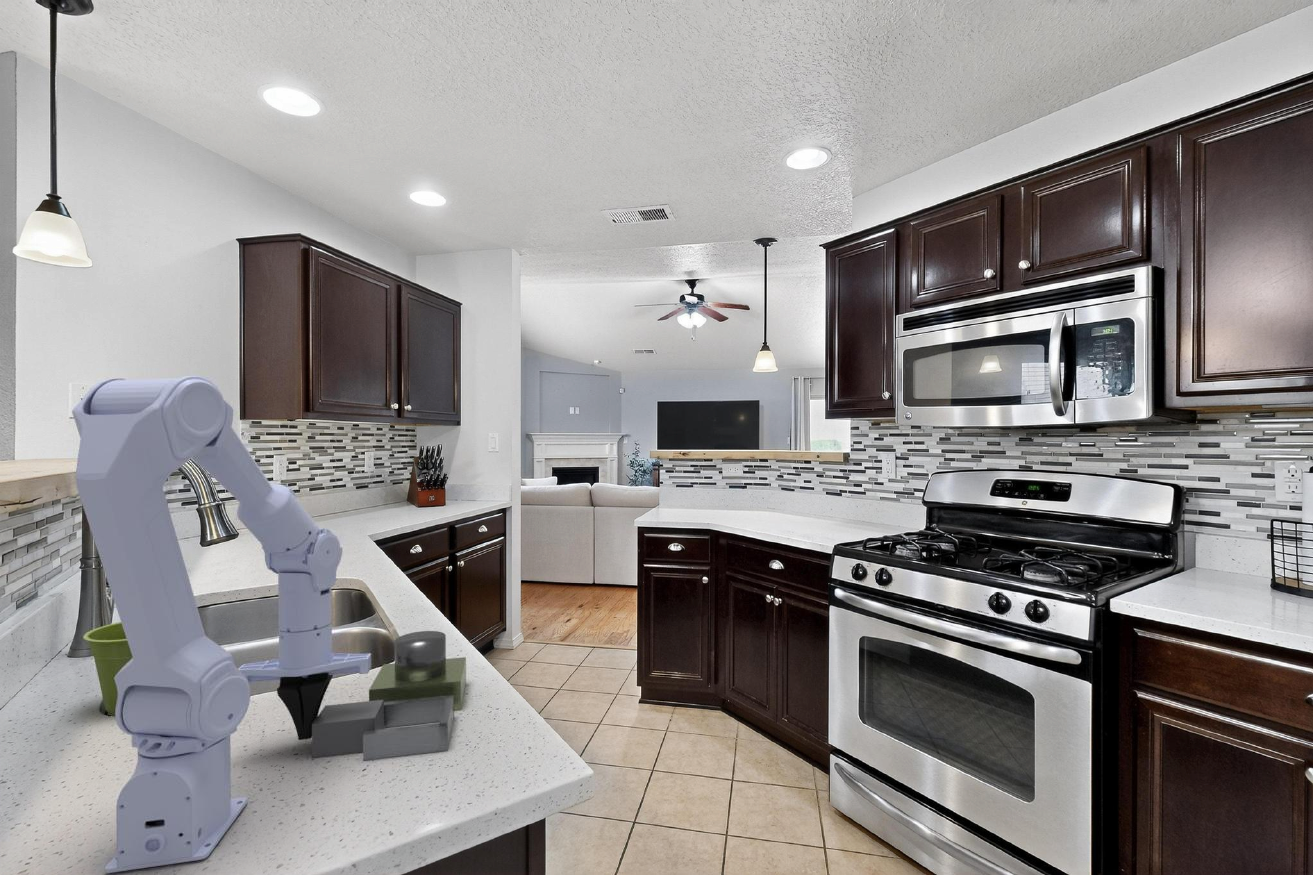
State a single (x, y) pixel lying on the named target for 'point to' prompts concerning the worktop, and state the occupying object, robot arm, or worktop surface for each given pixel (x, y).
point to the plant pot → (109, 658)
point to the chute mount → (416, 697)
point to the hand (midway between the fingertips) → (306, 735)
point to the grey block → (345, 727)
